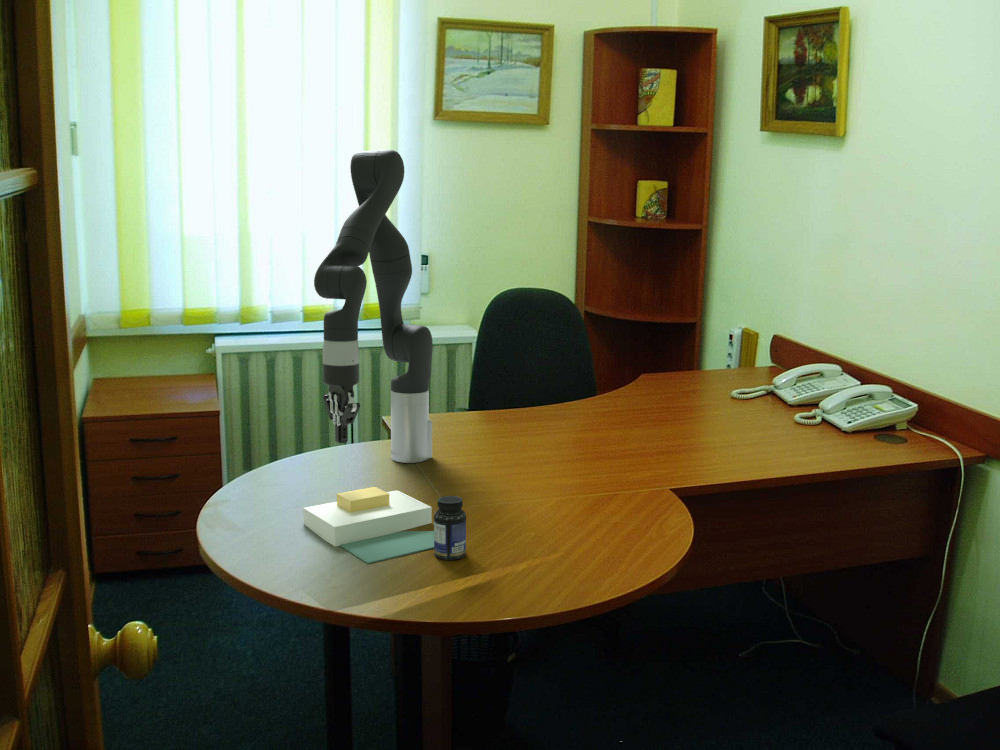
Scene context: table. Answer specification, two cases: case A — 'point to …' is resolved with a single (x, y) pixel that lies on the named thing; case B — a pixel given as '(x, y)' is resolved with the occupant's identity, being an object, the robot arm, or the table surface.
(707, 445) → the table surface
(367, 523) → the white rectangular block
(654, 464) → the table surface
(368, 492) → the cream yellow sponge block
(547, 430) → the table surface
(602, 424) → the table surface
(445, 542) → the pill bottle
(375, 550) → the mat
